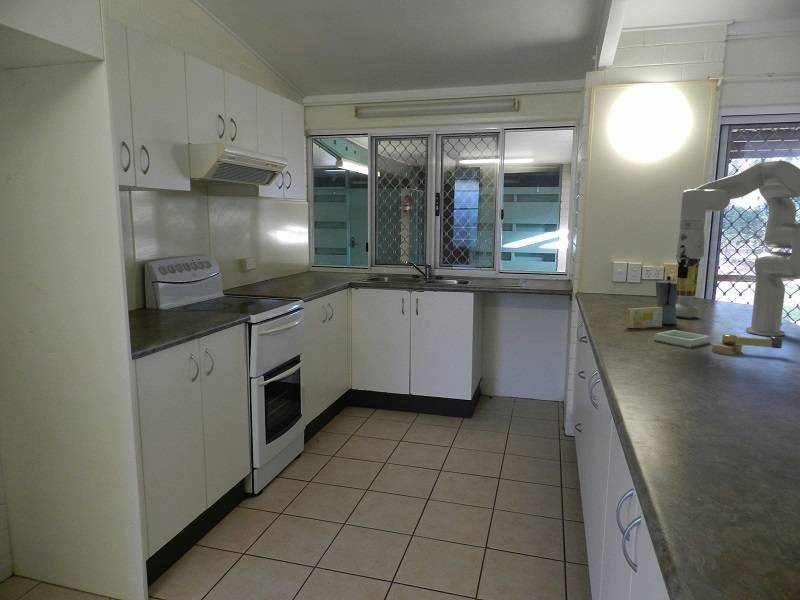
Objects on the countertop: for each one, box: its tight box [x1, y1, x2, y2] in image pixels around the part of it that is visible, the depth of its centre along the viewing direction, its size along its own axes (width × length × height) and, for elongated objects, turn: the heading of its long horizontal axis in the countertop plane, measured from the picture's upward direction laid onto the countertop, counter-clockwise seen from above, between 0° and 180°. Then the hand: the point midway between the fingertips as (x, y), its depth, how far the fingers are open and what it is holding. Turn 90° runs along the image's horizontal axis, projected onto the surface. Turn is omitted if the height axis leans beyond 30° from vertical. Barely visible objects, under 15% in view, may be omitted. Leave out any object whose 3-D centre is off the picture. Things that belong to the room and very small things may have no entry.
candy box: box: [626, 306, 663, 329], centre depth 218 cm, size 16×2×8 cm, turn 108°
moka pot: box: [655, 275, 679, 325], centre depth 226 cm, size 10×15×20 cm, turn 161°
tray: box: [653, 329, 711, 348], centre depth 193 cm, size 13×13×2 cm
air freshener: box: [675, 296, 699, 319], centre depth 243 cm, size 11×8×10 cm
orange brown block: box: [711, 341, 743, 356], centre depth 179 cm, size 8×6×3 cm
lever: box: [721, 333, 784, 349], centre depth 177 cm, size 17×4×3 cm, turn 66°
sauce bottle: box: [676, 256, 699, 297], centre depth 189 cm, size 6×6×20 cm
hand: (687, 277), depth 190 cm, fingers closed on sauce bottle, 6 cm apart
